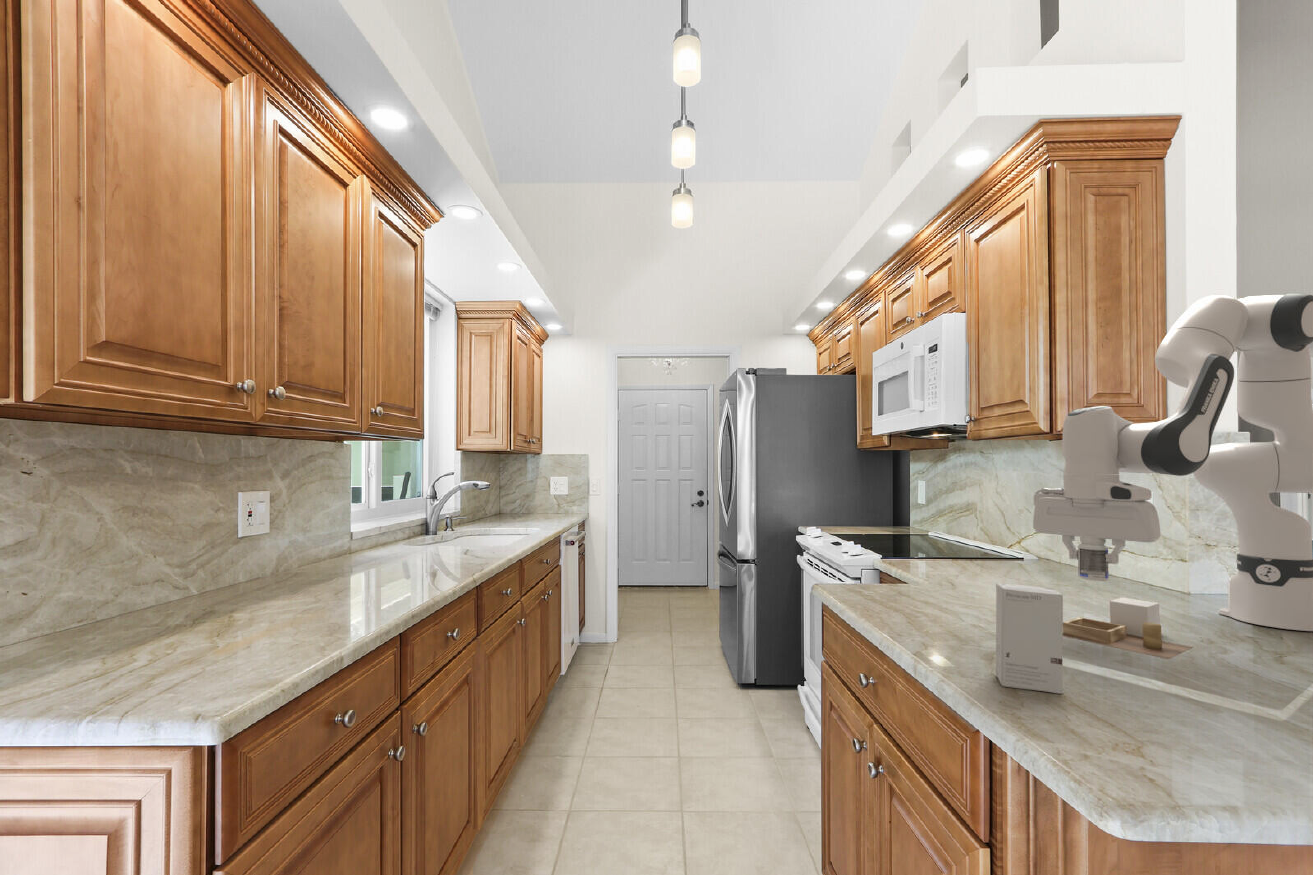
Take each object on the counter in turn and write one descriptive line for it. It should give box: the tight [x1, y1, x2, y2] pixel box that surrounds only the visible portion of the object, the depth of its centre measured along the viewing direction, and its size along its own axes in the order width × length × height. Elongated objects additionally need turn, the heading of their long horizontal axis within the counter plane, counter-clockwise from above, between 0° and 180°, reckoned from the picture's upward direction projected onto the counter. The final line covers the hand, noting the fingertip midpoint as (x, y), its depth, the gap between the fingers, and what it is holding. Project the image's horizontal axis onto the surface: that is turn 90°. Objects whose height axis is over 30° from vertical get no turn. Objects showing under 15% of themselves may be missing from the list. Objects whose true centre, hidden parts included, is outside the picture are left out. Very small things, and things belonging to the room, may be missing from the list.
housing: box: [1109, 597, 1161, 637], centre depth 117 cm, size 6×6×7 cm
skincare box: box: [995, 582, 1064, 694], centre depth 92 cm, size 8×6×15 cm
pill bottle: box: [1077, 535, 1110, 582], centre depth 115 cm, size 5×5×8 cm
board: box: [1063, 616, 1193, 660], centre depth 111 cm, size 12×17×5 cm
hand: (1093, 561), depth 115 cm, fingers closed on pill bottle, 5 cm apart
